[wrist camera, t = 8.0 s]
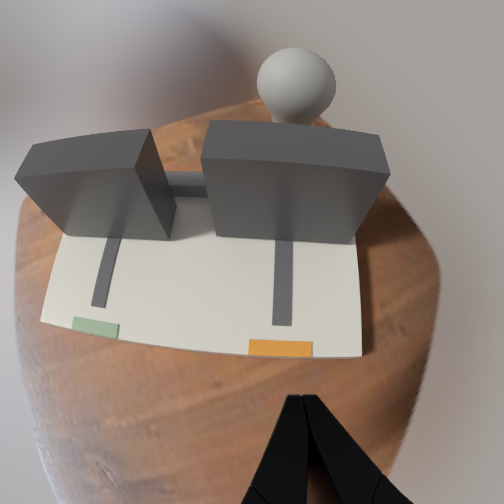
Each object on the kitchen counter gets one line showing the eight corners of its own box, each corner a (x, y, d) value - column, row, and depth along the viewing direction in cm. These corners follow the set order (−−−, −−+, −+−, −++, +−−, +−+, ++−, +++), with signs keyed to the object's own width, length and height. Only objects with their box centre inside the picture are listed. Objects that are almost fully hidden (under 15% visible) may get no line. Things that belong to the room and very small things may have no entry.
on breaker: (169, 240, 21) (133, 167, 13) (66, 235, 21) (14, 178, 14) (176, 206, 22) (150, 128, 15) (77, 205, 22) (33, 144, 15)
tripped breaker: (348, 244, 21) (390, 174, 13) (216, 236, 21) (200, 158, 14) (344, 209, 22) (378, 135, 15) (221, 201, 22) (210, 120, 15)
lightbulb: (330, 152, 27) (356, 57, 17) (293, 186, 25) (312, 79, 15) (282, 123, 29) (291, 31, 19) (242, 152, 27) (239, 50, 17)
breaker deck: (354, 358, 19) (370, 353, 16) (50, 325, 19) (29, 316, 17) (344, 203, 24) (354, 181, 22) (88, 194, 25) (75, 175, 22)
